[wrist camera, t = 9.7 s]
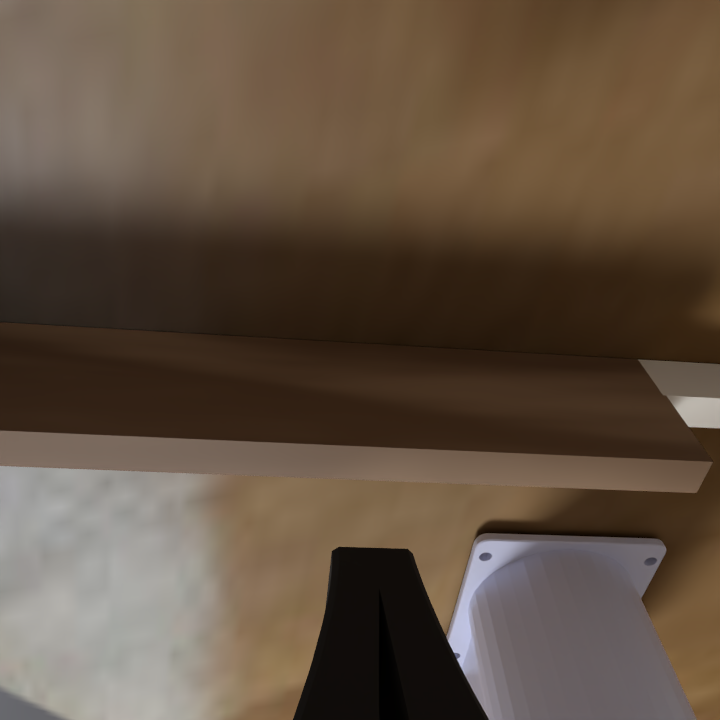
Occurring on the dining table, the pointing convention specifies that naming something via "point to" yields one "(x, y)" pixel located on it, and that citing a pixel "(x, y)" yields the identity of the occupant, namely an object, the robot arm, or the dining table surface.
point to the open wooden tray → (336, 411)
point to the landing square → (689, 389)
